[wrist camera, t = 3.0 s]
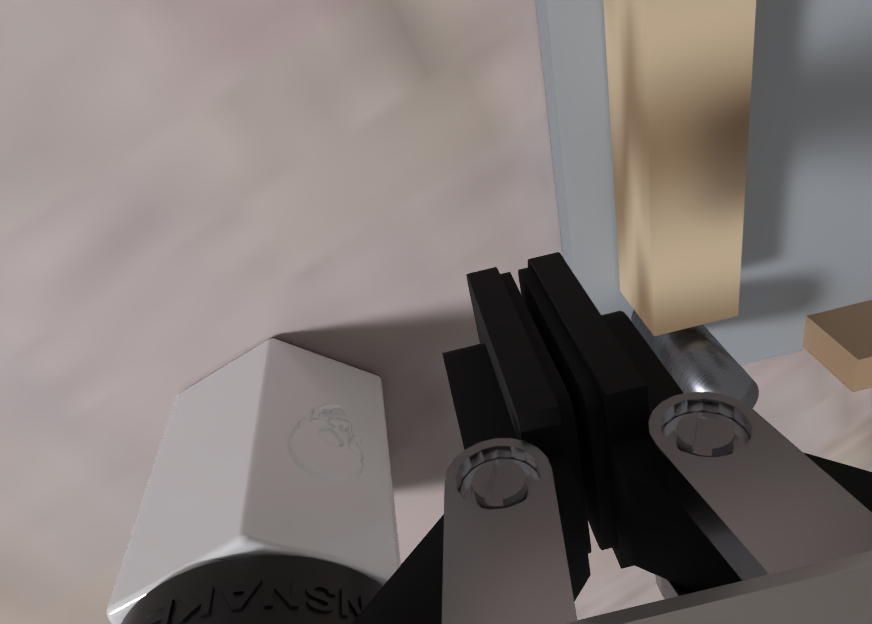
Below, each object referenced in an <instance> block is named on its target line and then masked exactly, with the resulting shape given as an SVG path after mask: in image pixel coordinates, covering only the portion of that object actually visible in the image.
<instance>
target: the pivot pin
mask: <svg viewBox="0 0 872 624" xmlns="http://www.w3.org/2000/svg"><path fill="white" fill-rule="evenodd" d="M631 321H632V323H633V324H634V325H635V327H636V328H637V330H638V331H639V332H640V334H641V335H642V336H643V338H644V339H645V341H646V342H647V343H648V345H649V346H650V347H651V349H652V350H653V351H654V353H655V354H656V356H657V357H658V358H659V360H660V361H661V362H662V364H663V365H664V367H665V368H666V369H667V371H668V372H669V373H670V375H671V376H672V377H673V379H674V380H675V382H676V383H677V384H678V386H679V387H680V388H681V390H682V391H683V393H688V392H712V393H719V394H724V395H727V396H730V397H732V398H735V399H738V400H740V401H742V402H743V403H745V404H746V405H748V406H749V407H751V408H753V407H754V405H755V404H756V402H757V399H758V395H759V390H758V386H757V384H756V383H755V382H754V380H753V379H752V378H751V377H750V376H749V375H748V374H747V373H746V372H745V370H744V369H743V368H742V367H741V366H740V365H739V364H738V363H737V362H736V360H735V359H734V358H733V357H732V356H731V355H730V354H729V353H728V352H727V350H726V349H725V348H724V347H723V346H722V345H721V344H720V343H719V341H718V340H717V339H716V338H715V337H714V336H713V335H712V334H711V333H710V331H709V330H708V329H707V328H706V327H705V326H704V325H703V324H702V325H698V326H694V327H690V328H686V329H682V330H678V331H674V332H670V333H666V334H662V335H658V336H654V335H653V334H652V333H651V331H650V330H649V329H648V327H647V326H646V325H645V323H644V322H643V321H642V319H641V318H640V317H639V315H638V314H637V313H636V311H635V310H633V313H632V317H631Z"/></svg>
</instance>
